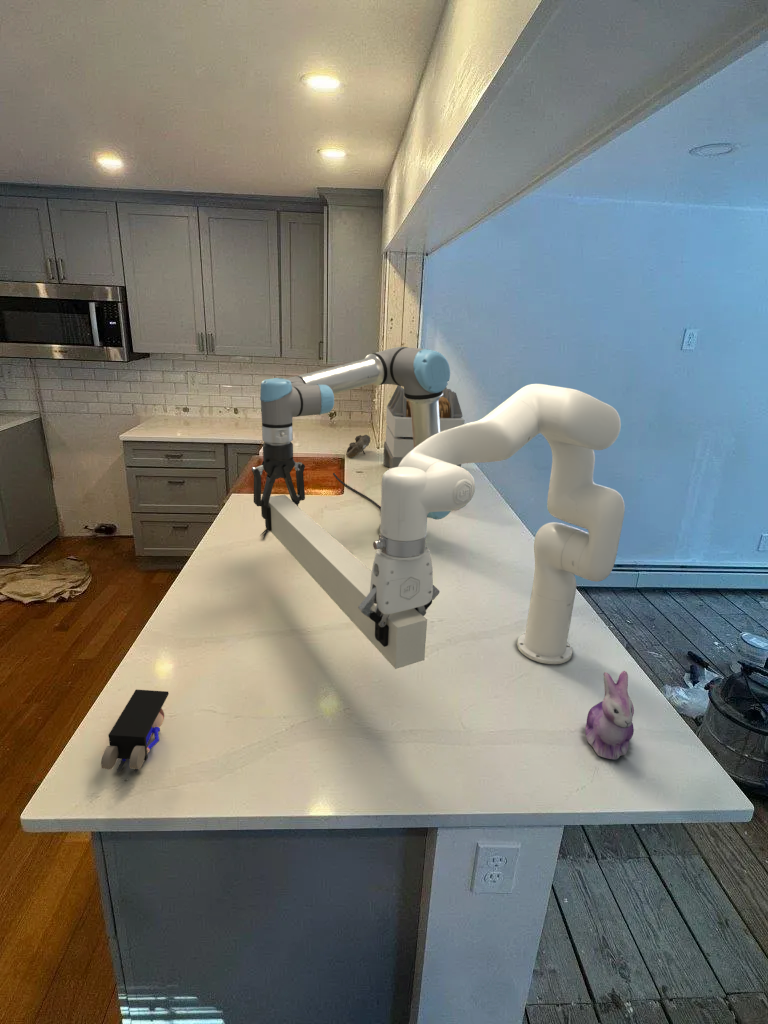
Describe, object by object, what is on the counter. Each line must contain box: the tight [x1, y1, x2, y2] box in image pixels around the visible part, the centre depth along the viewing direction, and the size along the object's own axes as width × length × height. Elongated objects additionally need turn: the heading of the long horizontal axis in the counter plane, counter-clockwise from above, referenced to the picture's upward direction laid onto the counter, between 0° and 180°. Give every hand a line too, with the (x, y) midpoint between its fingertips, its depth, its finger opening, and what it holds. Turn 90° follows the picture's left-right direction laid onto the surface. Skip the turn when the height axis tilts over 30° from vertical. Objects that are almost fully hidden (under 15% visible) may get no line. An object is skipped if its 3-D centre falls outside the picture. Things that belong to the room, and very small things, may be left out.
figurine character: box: [100, 689, 169, 774], centre depth 98 cm, size 7×8×15 cm
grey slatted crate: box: [383, 385, 465, 469], centre depth 268 cm, size 34×33×41 cm
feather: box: [260, 528, 269, 540], centre depth 202 cm, size 2×28×2 cm
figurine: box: [584, 670, 635, 760], centre depth 103 cm, size 9×10×15 cm
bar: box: [264, 494, 428, 670], centre depth 124 cm, size 71×6×8 cm, turn 29°
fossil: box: [345, 434, 371, 459], centre depth 304 cm, size 22×10×15 cm
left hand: (280, 527), depth 151 cm, fingers closed on bar, 6 cm apart
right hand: (398, 636), depth 99 cm, fingers closed on bar, 5 cm apart
